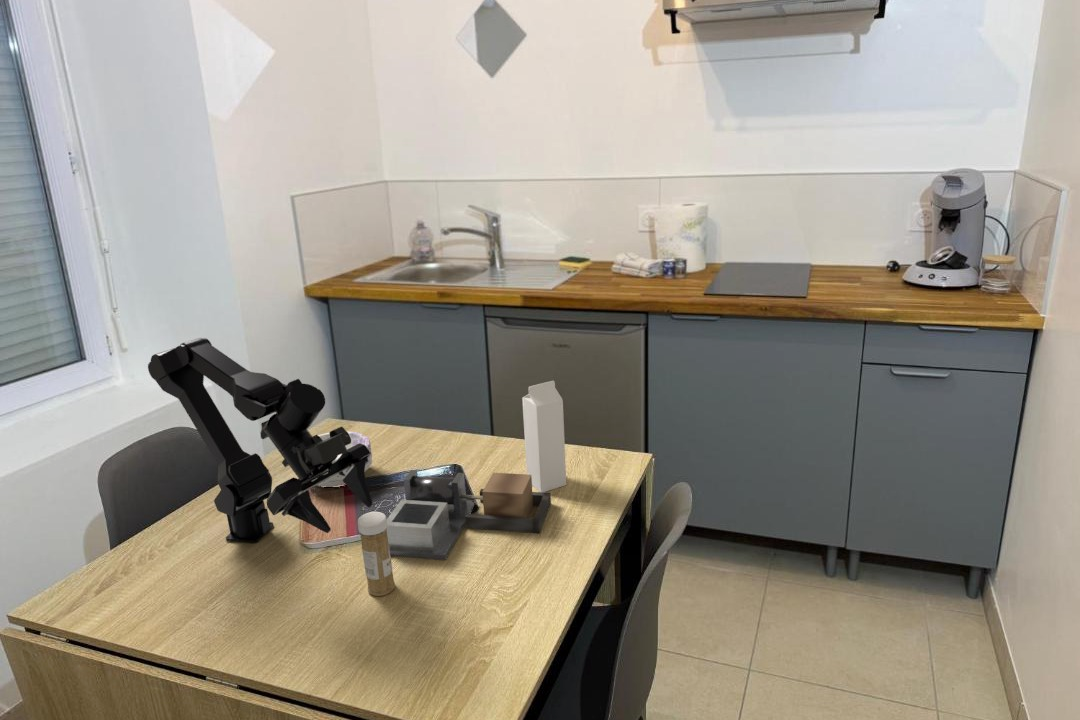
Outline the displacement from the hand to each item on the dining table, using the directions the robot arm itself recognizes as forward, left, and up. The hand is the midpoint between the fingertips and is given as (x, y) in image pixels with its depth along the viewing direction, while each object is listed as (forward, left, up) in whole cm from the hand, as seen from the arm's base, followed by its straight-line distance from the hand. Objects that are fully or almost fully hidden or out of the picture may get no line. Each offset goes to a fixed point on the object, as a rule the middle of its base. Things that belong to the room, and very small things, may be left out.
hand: (350, 518), depth 130 cm
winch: (+8, +17, -12) cm, 22 cm away
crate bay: (+20, +24, -12) cm, 33 cm away
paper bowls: (-20, +34, -12) cm, 41 cm away
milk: (+25, +37, -12) cm, 46 cm away
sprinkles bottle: (+5, -2, -12) cm, 13 cm away
